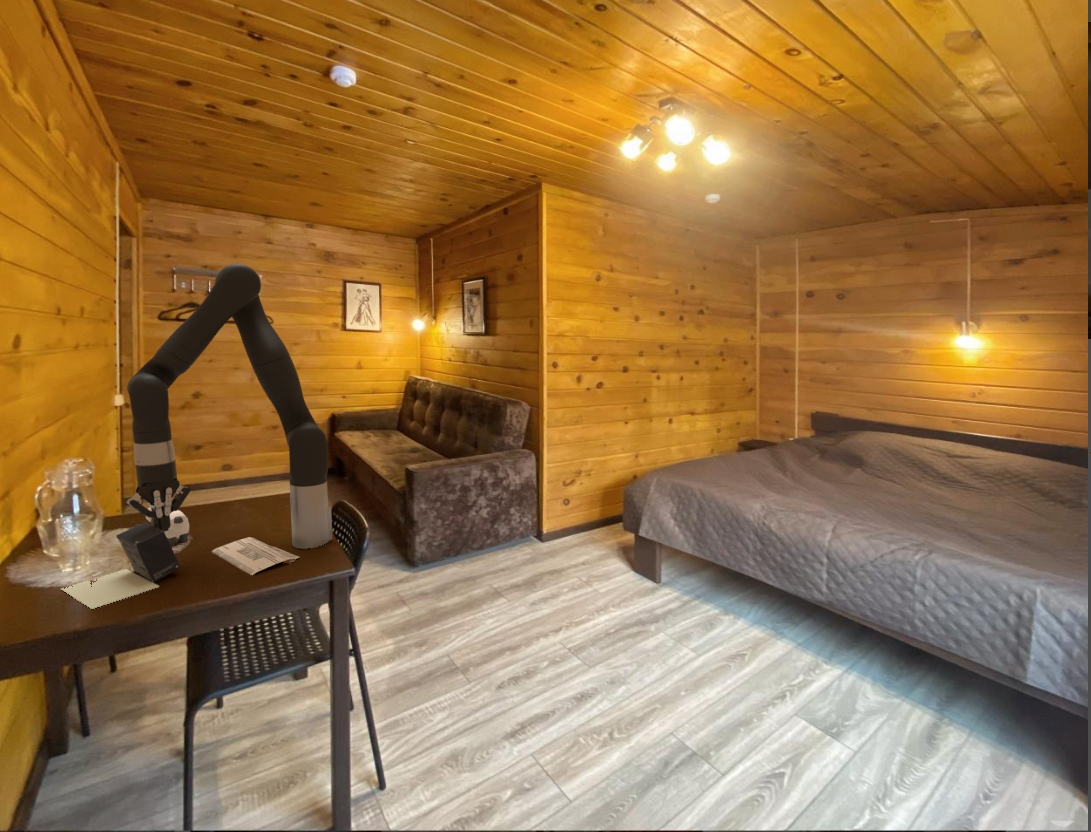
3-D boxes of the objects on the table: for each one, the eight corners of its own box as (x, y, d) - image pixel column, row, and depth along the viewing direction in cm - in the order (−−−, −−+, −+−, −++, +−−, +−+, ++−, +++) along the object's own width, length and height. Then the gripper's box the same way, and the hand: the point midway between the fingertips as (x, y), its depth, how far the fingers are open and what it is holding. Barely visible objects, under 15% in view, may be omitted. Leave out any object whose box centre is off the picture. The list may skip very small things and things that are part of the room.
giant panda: (192, 541, 143) (190, 507, 141) (170, 548, 138) (168, 513, 136) (161, 531, 149) (158, 499, 147) (139, 538, 144) (136, 504, 142)
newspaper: (302, 562, 133) (301, 553, 132) (253, 583, 123) (251, 573, 122) (259, 539, 146) (257, 531, 145) (211, 557, 136) (209, 549, 136)
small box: (183, 566, 122) (165, 529, 119) (153, 584, 118) (133, 546, 114) (163, 556, 128) (145, 520, 124) (133, 572, 123) (113, 535, 119)
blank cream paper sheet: (126, 570, 124) (126, 568, 124) (159, 587, 116) (159, 585, 116) (60, 590, 114) (60, 588, 114) (91, 610, 106) (91, 608, 106)
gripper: (128, 468, 113) (137, 544, 116) (194, 456, 124) (201, 525, 127) (113, 463, 117) (122, 536, 120) (178, 452, 128) (185, 519, 131)
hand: (163, 530), depth 123 cm, fingers closed
